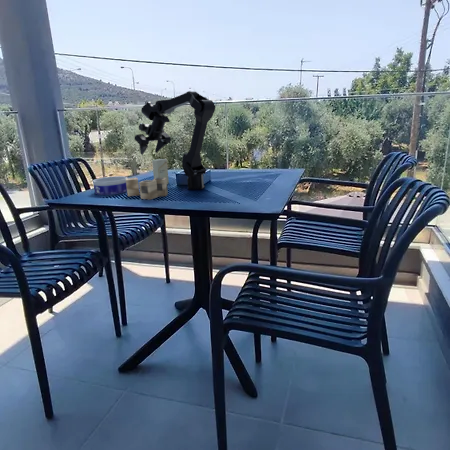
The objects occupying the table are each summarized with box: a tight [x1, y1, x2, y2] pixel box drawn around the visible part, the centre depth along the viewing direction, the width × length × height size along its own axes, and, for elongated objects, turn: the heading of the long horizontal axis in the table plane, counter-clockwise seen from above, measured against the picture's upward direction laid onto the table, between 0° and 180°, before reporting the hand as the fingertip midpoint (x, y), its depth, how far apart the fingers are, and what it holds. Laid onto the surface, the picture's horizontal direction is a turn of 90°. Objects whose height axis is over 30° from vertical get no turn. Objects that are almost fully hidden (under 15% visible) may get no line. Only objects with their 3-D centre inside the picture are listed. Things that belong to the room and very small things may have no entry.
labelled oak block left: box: [152, 177, 169, 197], centre depth 152 cm, size 5×5×7 cm
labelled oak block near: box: [138, 179, 159, 201], centre depth 147 cm, size 5×5×7 cm
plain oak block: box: [126, 177, 141, 197], centre depth 155 cm, size 5×5×7 cm
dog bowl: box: [92, 175, 128, 196], centre depth 165 cm, size 15×15×6 cm
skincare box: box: [151, 158, 170, 185], centre depth 176 cm, size 6×4×12 cm
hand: (148, 153), depth 178 cm, fingers open, 9 cm apart
